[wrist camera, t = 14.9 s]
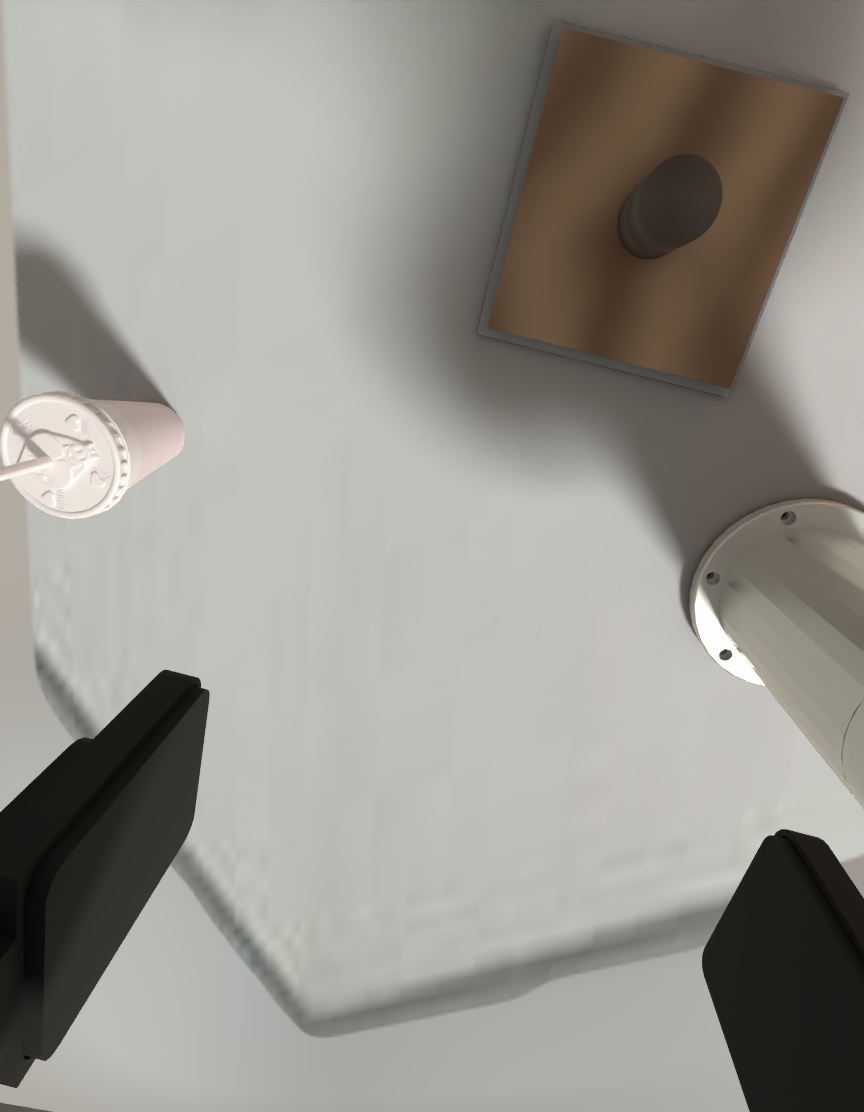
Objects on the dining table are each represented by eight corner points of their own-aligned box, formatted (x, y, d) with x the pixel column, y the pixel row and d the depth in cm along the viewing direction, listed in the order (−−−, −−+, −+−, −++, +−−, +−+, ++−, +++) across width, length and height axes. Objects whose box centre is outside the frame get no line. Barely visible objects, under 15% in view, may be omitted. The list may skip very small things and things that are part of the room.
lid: (835, 103, 30) (910, 51, 25) (724, 387, 35) (767, 396, 30) (561, 35, 31) (576, -31, 25) (487, 327, 35) (487, 325, 30)
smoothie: (94, 393, 39) (-106, 419, 26) (185, 369, 38) (24, 384, 25) (132, 489, 41) (-36, 559, 28) (219, 469, 40) (87, 531, 27)
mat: (842, 98, 31) (849, 93, 30) (725, 396, 36) (729, 397, 35) (552, 25, 31) (553, 19, 30) (476, 333, 36) (476, 333, 35)
